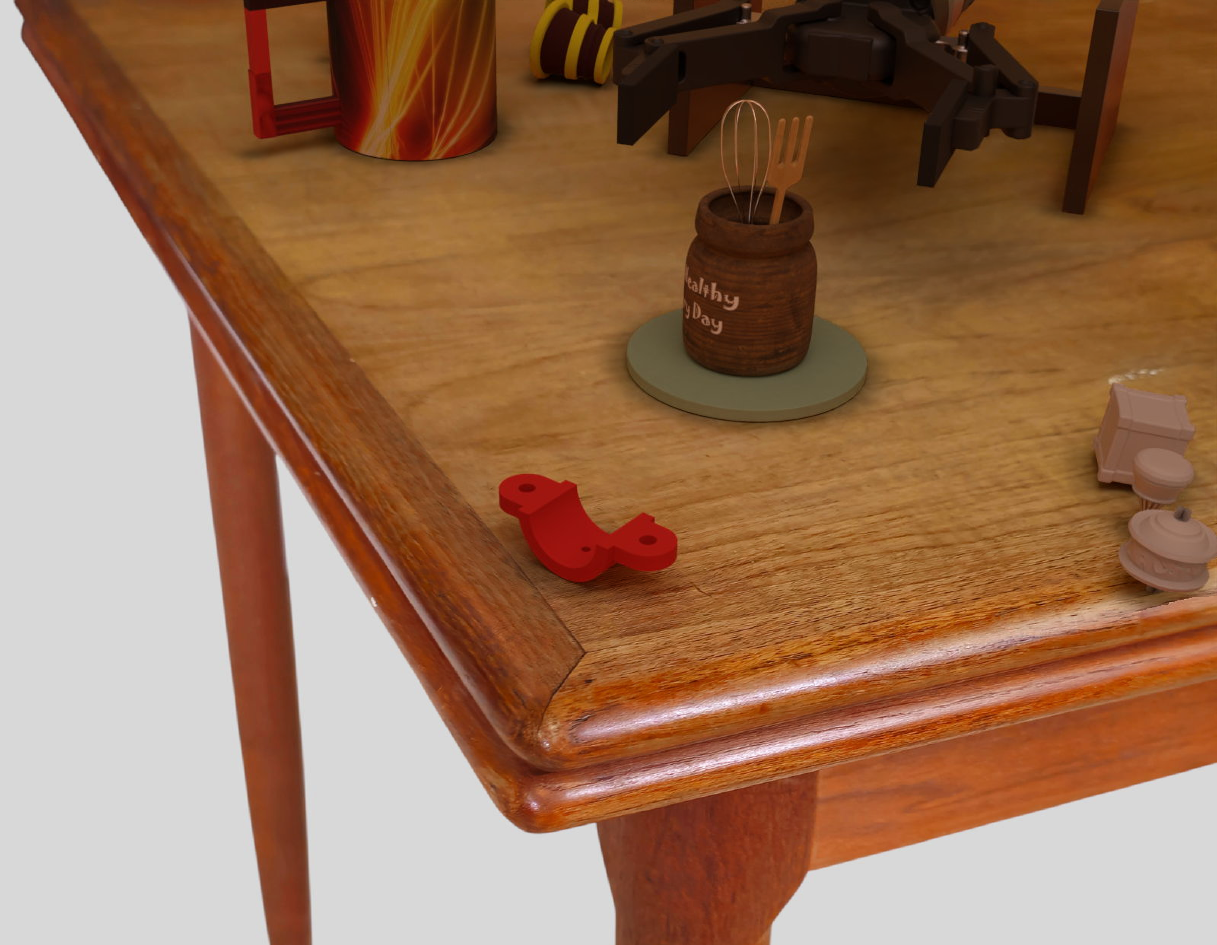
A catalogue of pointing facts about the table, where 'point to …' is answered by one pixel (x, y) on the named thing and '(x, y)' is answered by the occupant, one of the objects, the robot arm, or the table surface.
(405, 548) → the table surface
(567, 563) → the pipe clamp
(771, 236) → the utensil holder
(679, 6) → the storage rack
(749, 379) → the rubber mat
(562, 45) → the opera glasses
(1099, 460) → the toy set
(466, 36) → the mug
